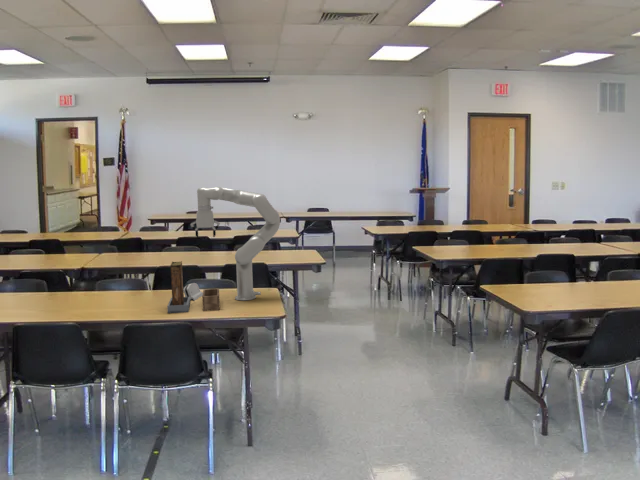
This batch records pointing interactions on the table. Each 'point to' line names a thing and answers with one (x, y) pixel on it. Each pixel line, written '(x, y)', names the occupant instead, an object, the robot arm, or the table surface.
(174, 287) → the book
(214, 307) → the frame
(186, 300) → the tray
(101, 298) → the table surface
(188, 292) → the white gray electronic device
